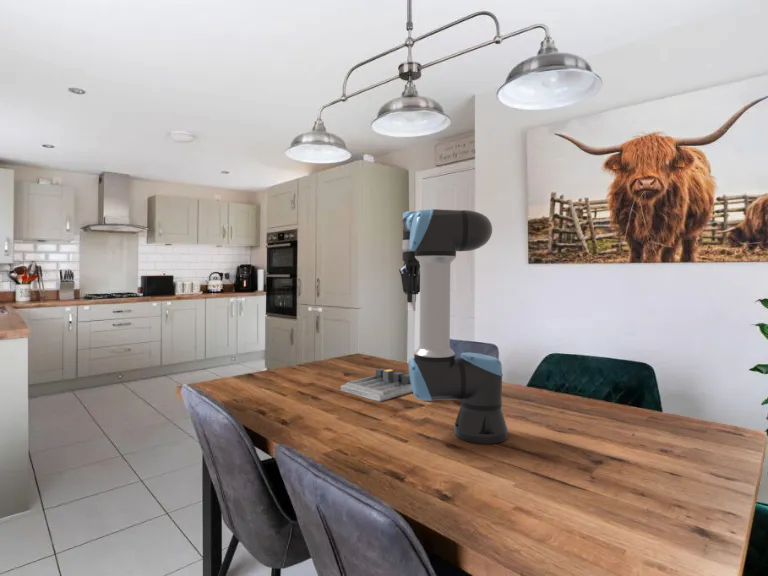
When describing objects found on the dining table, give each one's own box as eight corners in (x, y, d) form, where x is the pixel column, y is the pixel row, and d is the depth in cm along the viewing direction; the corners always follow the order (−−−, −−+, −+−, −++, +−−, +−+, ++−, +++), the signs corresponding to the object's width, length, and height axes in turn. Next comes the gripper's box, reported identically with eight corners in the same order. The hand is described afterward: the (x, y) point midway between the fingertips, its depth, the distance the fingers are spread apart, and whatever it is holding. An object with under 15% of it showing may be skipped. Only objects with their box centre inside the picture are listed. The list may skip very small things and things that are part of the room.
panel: (379, 401, 158) (379, 385, 158) (340, 390, 173) (340, 375, 173) (424, 388, 177) (424, 374, 177) (385, 379, 192) (385, 366, 192)
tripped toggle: (388, 381, 179) (388, 371, 179) (382, 380, 181) (382, 370, 181) (394, 380, 182) (394, 370, 181) (389, 378, 184) (389, 369, 183)
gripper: (408, 250, 164) (408, 312, 164) (429, 251, 173) (429, 310, 174) (393, 250, 169) (393, 310, 169) (415, 252, 178) (414, 309, 179)
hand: (411, 310), depth 172 cm, fingers closed
